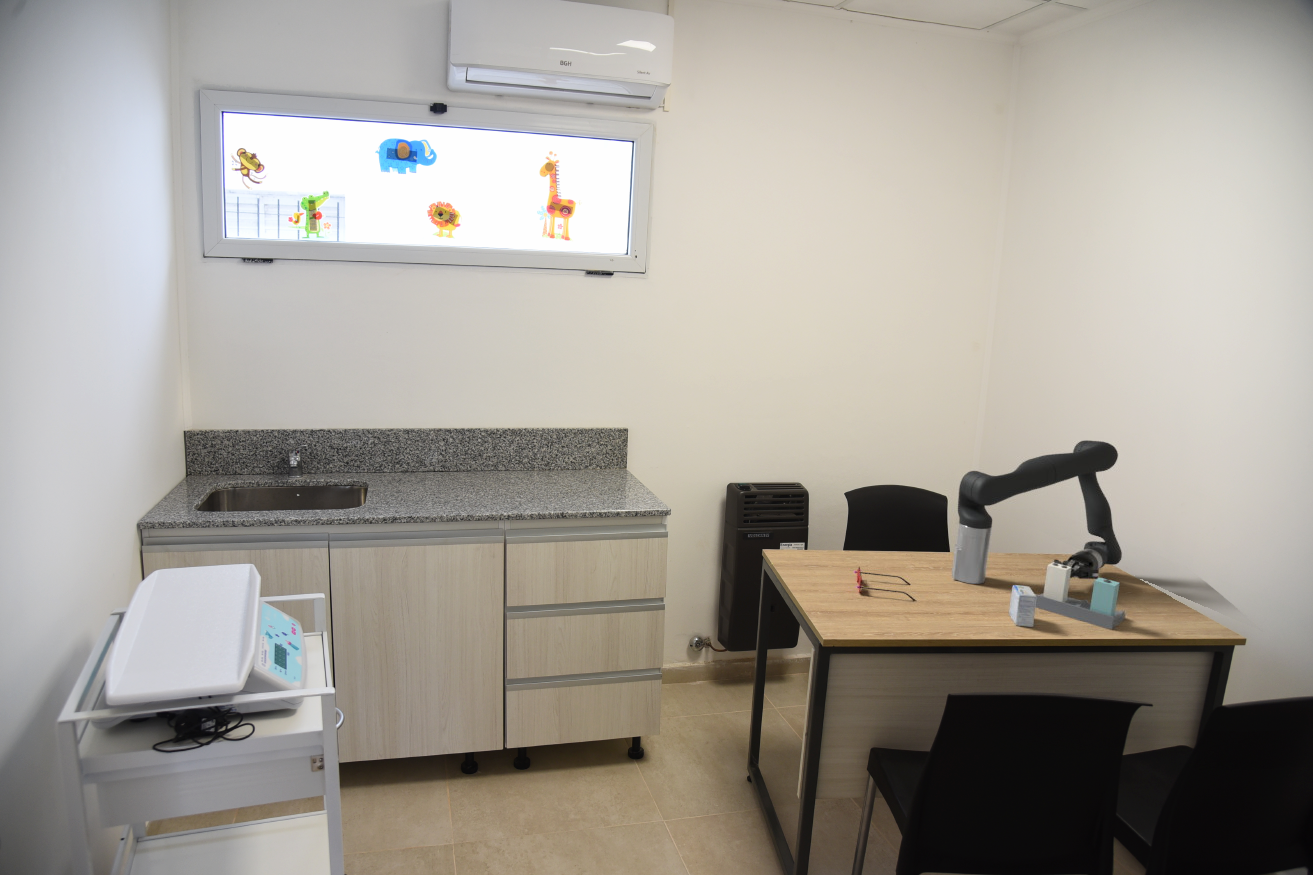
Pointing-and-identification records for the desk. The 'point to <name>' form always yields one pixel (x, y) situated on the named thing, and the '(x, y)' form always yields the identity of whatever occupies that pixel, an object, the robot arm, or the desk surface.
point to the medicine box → (1022, 606)
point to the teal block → (1104, 596)
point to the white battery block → (1057, 582)
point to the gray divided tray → (1079, 611)
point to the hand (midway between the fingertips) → (1065, 575)
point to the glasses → (859, 578)
